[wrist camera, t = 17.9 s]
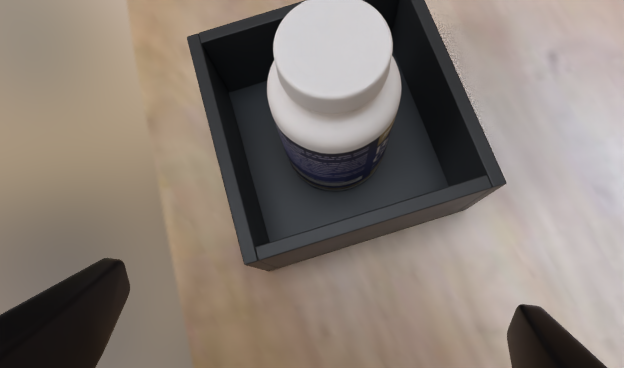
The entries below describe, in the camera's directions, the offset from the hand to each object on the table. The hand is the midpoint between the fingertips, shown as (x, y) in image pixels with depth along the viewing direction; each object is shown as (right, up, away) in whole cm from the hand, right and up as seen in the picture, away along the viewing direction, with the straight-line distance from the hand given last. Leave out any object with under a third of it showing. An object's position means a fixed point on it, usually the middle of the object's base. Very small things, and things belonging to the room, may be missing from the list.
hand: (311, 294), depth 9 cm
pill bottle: (+1, +5, +14) cm, 15 cm away
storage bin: (+1, +5, +14) cm, 15 cm away
